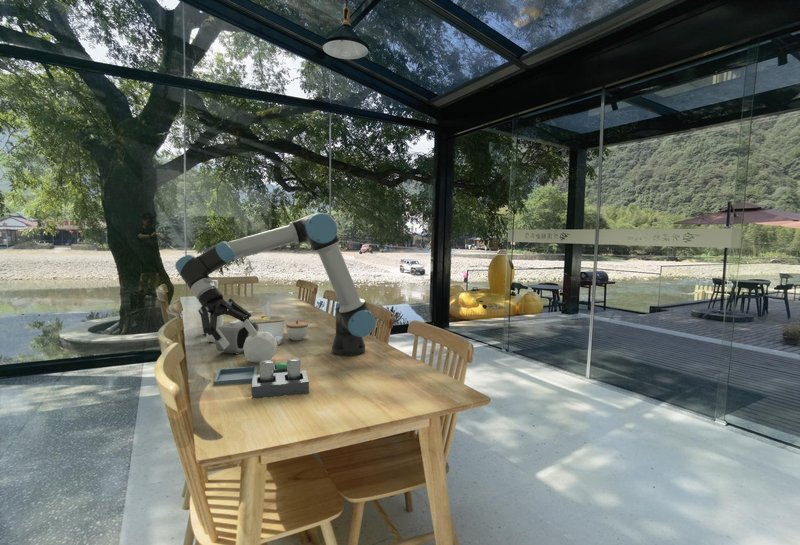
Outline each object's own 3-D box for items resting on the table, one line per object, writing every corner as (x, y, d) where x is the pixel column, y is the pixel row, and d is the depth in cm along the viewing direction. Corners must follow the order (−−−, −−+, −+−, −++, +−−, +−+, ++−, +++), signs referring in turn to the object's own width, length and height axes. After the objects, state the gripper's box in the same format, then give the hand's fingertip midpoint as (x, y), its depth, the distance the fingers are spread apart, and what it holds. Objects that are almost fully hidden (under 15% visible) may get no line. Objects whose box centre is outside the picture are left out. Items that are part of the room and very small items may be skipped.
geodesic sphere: (240, 356, 161) (261, 326, 166) (229, 349, 172) (249, 320, 176) (269, 373, 169) (288, 343, 174) (257, 364, 180) (275, 336, 184)
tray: (257, 371, 162) (257, 365, 162) (256, 383, 149) (256, 377, 148) (218, 374, 158) (218, 368, 158) (213, 387, 145) (213, 381, 144)
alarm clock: (235, 357, 181) (234, 326, 180) (215, 355, 182) (214, 325, 181) (259, 344, 201) (259, 317, 200) (241, 343, 203) (240, 316, 201)
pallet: (305, 381, 152) (305, 370, 151) (308, 393, 140) (308, 381, 140) (253, 386, 146) (253, 374, 146) (252, 399, 135) (251, 386, 135)
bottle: (205, 343, 202) (203, 281, 200) (207, 339, 210) (206, 279, 207) (223, 342, 204) (221, 281, 202) (225, 338, 212) (223, 279, 209)
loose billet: (273, 387, 145) (273, 359, 144) (273, 392, 141) (273, 363, 140) (260, 389, 144) (259, 360, 143) (260, 393, 140) (259, 364, 139)
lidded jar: (305, 341, 208) (305, 323, 207) (283, 341, 208) (283, 322, 207) (310, 336, 218) (310, 318, 217) (289, 336, 218) (289, 318, 218)
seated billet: (300, 385, 148) (299, 357, 147) (301, 390, 143) (300, 361, 142) (287, 386, 146) (286, 358, 145) (287, 391, 142) (287, 362, 141)
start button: (288, 369, 159) (288, 361, 158) (288, 373, 155) (288, 365, 154) (276, 370, 157) (275, 362, 157) (276, 374, 153) (276, 366, 153)
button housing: (291, 373, 160) (291, 362, 160) (292, 379, 154) (292, 368, 153) (272, 374, 158) (272, 364, 158) (272, 380, 152) (272, 370, 151)
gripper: (182, 293, 136) (219, 345, 133) (238, 281, 159) (271, 325, 156) (171, 307, 139) (207, 358, 136) (228, 293, 162) (260, 336, 159)
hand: (241, 340), depth 146 cm, fingers open, 13 cm apart
